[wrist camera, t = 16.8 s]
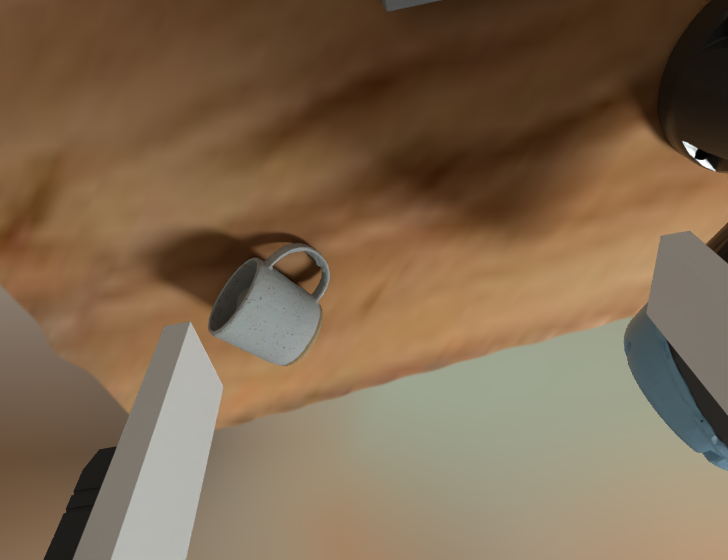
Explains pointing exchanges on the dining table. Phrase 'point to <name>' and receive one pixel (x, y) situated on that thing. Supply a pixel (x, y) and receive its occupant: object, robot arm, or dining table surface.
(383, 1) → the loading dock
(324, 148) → the dining table surface
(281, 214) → the dining table surface
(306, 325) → the ceramic mug
